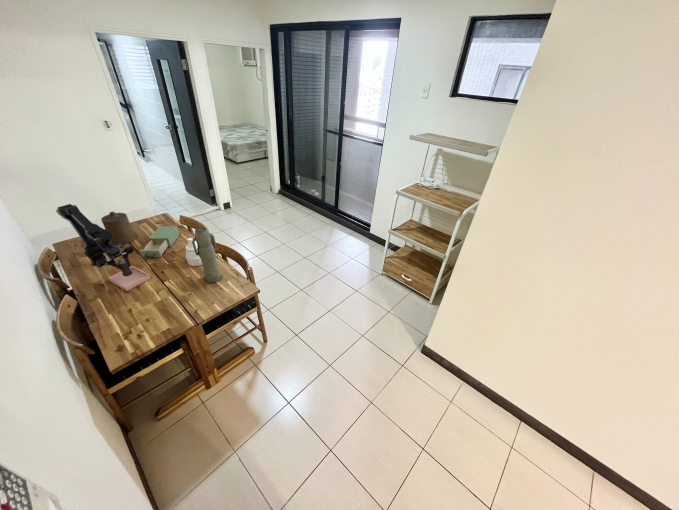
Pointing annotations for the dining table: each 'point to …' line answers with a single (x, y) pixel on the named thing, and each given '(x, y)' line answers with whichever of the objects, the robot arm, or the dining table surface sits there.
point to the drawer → (155, 248)
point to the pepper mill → (124, 267)
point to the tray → (129, 278)
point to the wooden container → (118, 227)
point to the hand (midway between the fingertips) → (125, 267)
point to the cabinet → (166, 234)
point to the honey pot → (192, 254)
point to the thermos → (207, 254)
